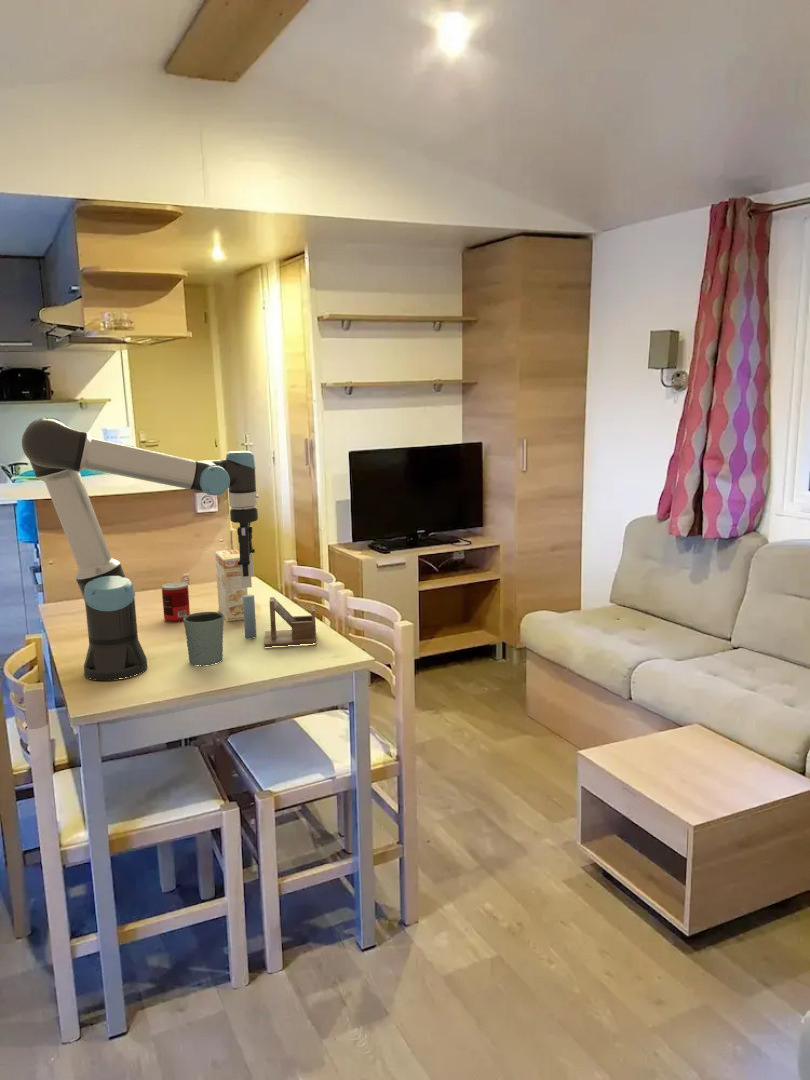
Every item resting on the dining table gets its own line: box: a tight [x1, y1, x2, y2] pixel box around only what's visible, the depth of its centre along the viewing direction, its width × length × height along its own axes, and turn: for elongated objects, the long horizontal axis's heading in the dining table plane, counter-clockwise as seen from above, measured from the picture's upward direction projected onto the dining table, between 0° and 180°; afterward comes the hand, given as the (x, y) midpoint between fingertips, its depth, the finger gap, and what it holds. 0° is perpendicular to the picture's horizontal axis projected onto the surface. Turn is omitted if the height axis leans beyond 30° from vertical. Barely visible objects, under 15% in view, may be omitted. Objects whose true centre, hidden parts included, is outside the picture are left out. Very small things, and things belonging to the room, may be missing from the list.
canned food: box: [161, 581, 191, 624], centre depth 250 cm, size 8×8×11 cm
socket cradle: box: [263, 596, 317, 648], centre depth 227 cm, size 12×14×12 cm
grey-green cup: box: [183, 611, 225, 667], centre depth 211 cm, size 10×10×12 cm
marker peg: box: [243, 594, 257, 639], centre depth 231 cm, size 3×3×12 cm
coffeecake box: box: [214, 548, 249, 622], centre depth 253 cm, size 15×7×20 cm, turn 22°
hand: (248, 581), depth 229 cm, fingers open, 13 cm apart
